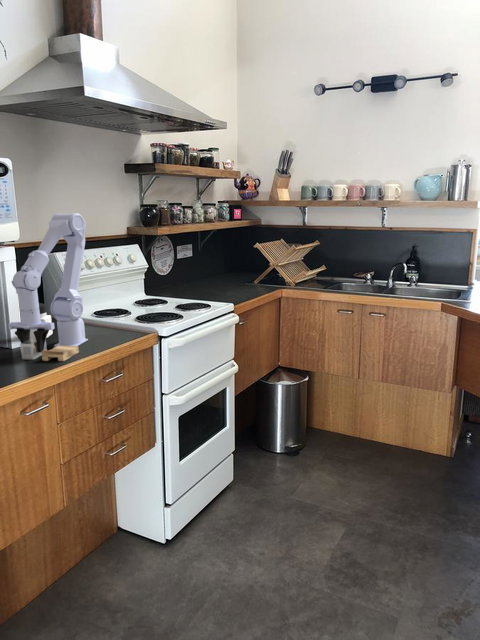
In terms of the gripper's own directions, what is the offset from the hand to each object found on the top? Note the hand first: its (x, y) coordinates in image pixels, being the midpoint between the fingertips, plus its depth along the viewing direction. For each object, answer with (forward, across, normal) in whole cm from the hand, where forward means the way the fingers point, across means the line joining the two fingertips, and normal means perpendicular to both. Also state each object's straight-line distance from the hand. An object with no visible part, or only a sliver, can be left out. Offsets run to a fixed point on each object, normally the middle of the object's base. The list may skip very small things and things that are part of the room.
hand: (34, 351), depth 166 cm
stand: (+1, +9, 0) cm, 9 cm away
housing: (+1, 0, 0) cm, 1 cm away
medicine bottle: (+2, -12, +24) cm, 27 cm away
